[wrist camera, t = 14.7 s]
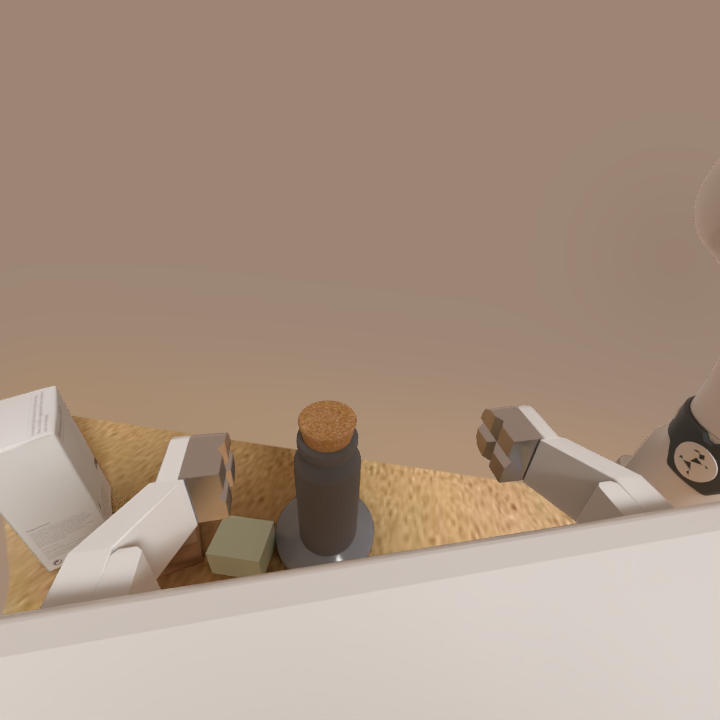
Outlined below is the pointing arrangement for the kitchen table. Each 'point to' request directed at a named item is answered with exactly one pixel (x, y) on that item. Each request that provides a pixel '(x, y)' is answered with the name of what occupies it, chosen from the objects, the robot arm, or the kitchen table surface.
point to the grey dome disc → (300, 556)
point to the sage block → (241, 546)
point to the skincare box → (48, 476)
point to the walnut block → (187, 553)
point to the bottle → (327, 477)
